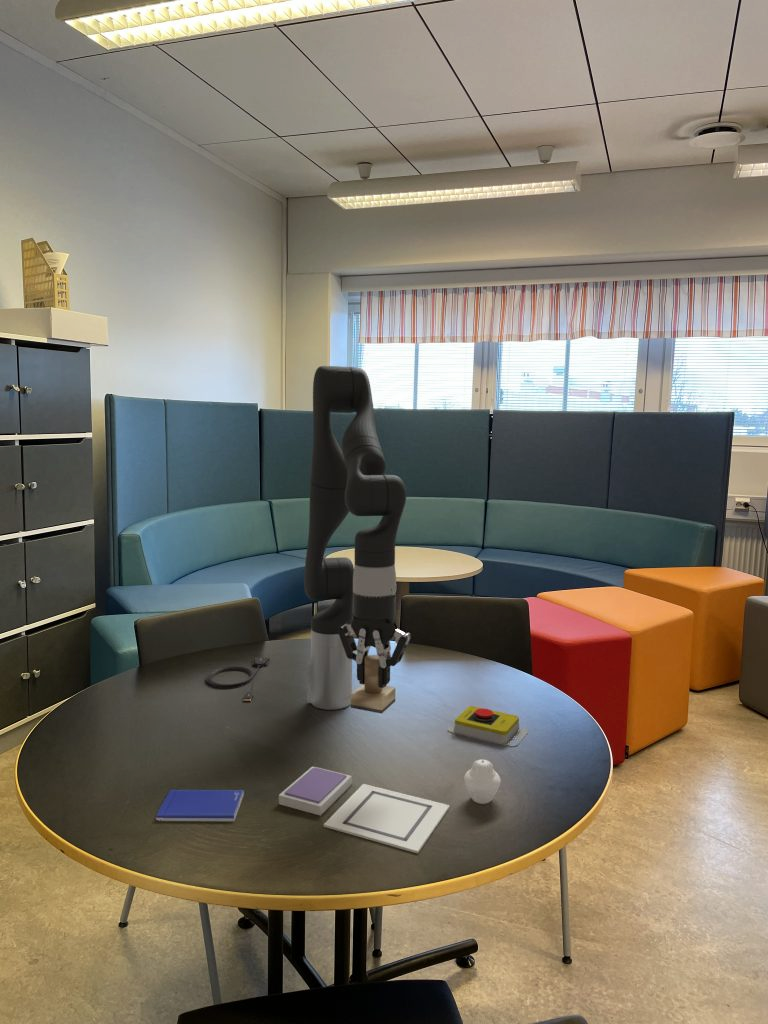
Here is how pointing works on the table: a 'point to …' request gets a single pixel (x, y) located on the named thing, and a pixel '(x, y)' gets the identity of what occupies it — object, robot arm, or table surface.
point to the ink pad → (315, 790)
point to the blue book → (200, 805)
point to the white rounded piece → (482, 781)
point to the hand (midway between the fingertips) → (373, 684)
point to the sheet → (388, 817)
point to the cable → (248, 697)
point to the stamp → (372, 689)
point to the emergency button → (488, 725)
